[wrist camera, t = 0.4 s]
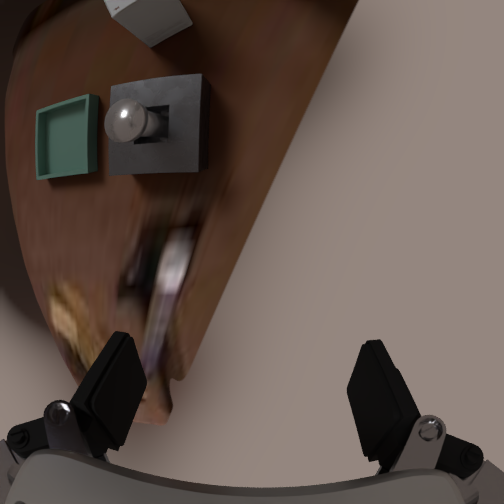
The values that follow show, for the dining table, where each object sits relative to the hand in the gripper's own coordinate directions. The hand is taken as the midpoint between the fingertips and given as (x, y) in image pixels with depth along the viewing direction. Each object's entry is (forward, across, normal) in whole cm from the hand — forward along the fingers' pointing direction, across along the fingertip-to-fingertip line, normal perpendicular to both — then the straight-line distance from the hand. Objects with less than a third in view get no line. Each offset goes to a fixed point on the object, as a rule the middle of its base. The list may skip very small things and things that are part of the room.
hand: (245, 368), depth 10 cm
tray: (+29, +30, -12) cm, 44 cm away
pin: (+28, +12, -12) cm, 33 cm away
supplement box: (+30, +14, -30) cm, 44 cm away
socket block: (+29, +12, -12) cm, 34 cm away
